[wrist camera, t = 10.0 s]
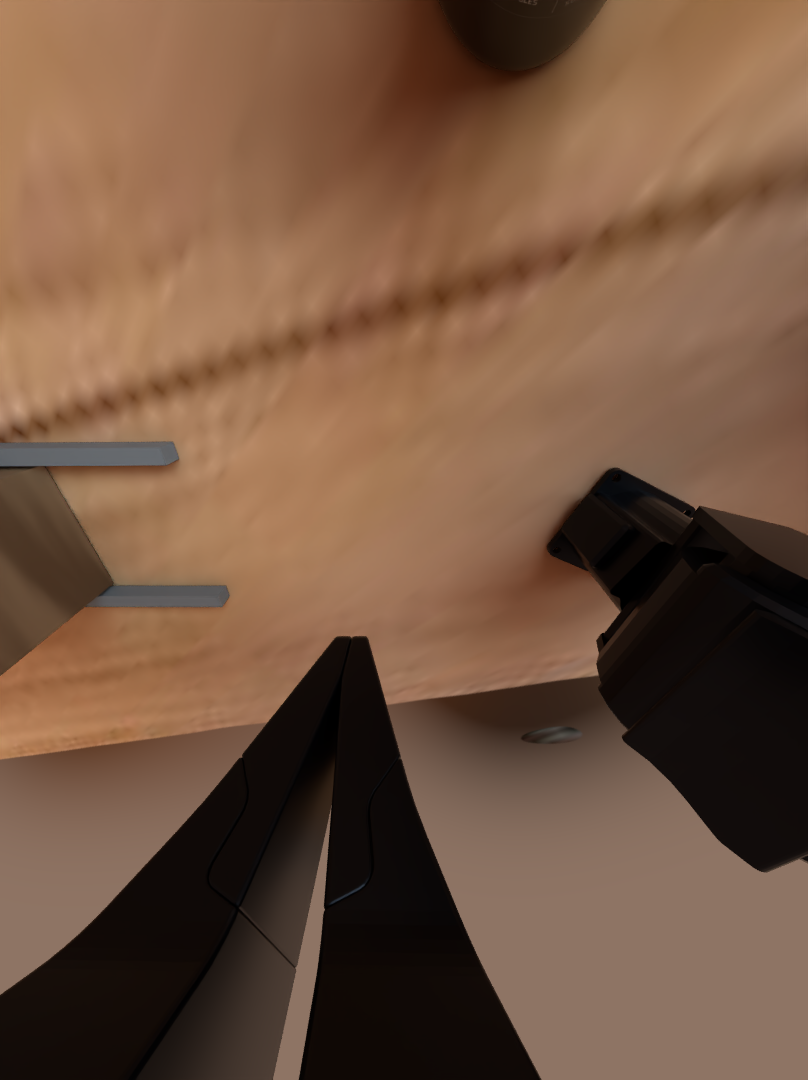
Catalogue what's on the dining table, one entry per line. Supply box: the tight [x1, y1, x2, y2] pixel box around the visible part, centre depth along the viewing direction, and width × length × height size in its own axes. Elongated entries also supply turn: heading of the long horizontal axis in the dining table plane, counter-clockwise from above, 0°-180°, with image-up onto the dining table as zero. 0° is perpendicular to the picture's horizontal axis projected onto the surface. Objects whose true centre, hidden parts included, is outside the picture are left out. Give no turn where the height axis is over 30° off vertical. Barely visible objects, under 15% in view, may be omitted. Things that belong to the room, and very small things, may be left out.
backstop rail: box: [0, 442, 229, 607], centre depth 20 cm, size 21×14×6 cm, turn 91°
